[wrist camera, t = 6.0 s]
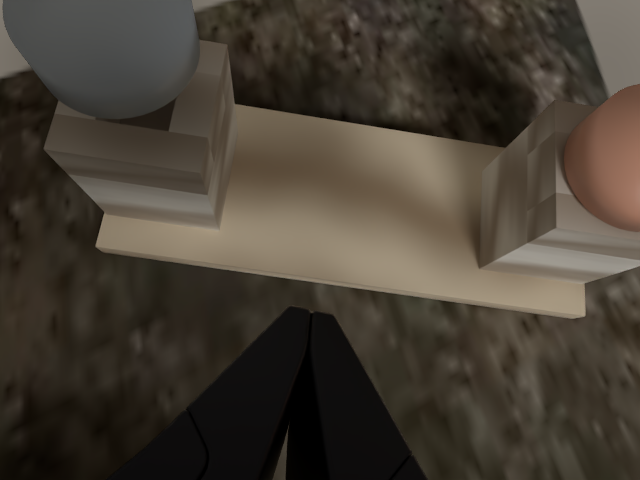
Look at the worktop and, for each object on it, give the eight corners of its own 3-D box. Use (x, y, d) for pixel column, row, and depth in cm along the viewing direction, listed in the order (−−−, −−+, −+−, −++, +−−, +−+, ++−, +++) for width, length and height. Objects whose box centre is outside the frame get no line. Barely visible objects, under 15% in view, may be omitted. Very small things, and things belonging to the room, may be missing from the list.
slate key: (191, 156, 15) (170, 95, 12) (40, 132, 15) (-23, 64, 12) (218, 32, 17) (205, -52, 13) (79, 9, 16) (32, -84, 13)
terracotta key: (658, 252, 18) (741, 225, 15) (540, 234, 18) (599, 202, 15) (649, 142, 20) (725, 95, 17) (539, 124, 20) (594, 73, 16)
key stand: (572, 318, 24) (703, 292, 17) (102, 252, 23) (24, 191, 15) (569, 168, 26) (682, 87, 19) (142, 99, 25) (90, -16, 18)
